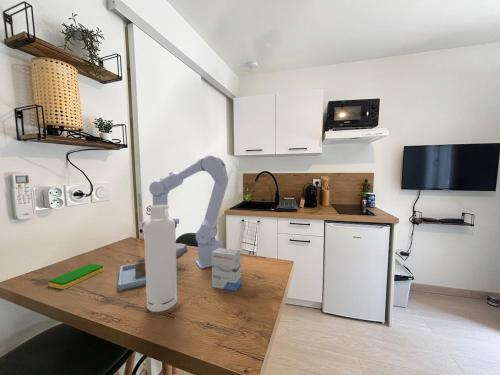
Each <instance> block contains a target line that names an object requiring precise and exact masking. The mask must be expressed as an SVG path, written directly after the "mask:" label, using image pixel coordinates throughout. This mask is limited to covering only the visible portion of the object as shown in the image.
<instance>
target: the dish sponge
mask: <svg viewBox="0 0 500 375" xmlns="http://www.w3.org/2000/svg"><path fill="white" fill-rule="evenodd" d="M104 271H105V269H104V265H102V264H96V263H89V264H86V265H84V266H81V267H79V268H76V269H74V270H72V271H69V272H66V273H65V274H64V273H63V274H62V275H59V276H57V277H53V278H51V279H49V280H48V286H49V287H50V288H56V289H60V290H65V289H68V288H69V287H71V286H74V285H76V284H78V283H80V282H83V281H84V280H87V279H89V278H92V277H94V276H96V275H98V274H101V273H103V272H104Z"/></svg>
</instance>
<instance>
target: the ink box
mask: <svg viewBox="0 0 500 375" xmlns="http://www.w3.org/2000/svg"><path fill="white" fill-rule="evenodd" d="M211 253H212V266H211V286H212V288H214V289H215V288H216V289H220V290H225V291H226V290H227V291H232V292H237V290H238V289H239V288H240V286H241V285H242V281H241V278H242V277H241V272H242V271H241V265H242V263H241V250H239V249H231V248H223V247H222V248H217V249H216V250H214V251H213V252H211Z"/></svg>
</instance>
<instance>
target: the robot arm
mask: <svg viewBox="0 0 500 375" xmlns="http://www.w3.org/2000/svg"><path fill="white" fill-rule="evenodd" d="M199 172H206V173H207V174H209V175H210V177H211V178H212V179H213V181H214V184H213V188H212V192H211V195H210V198H209V201H208V205H207V208H206V212H205V215H204V219H203V220H202V222H201V224H200V227H199V229H198V230H197V231H196V233H195V240H196V242H197V246H198V247H197V248H198V249H197V253H198V259H196V260H195V263H196V264H197V266H198V267H199V269H205V268H210V267H211V268H212V253H211V252H213V251H214V250H216V249H217V248H223V244H222V242H221V240H217V239H216V236H217V234H218V227H217V226H218V218H219V213H220V211H221V208H222V205H223V202H224V197H225V194H226V190H227V188H228V184H229V175H228V172H227V167H226V164H225V162H224V161H223V159H222V158H220V157H217V156H214V155H206V156H205V157H203V158H200V159H199V160H197V161H196V162H194V163H192V164H190V165H189V166H188V167H186V168H185V169H182V171H179V172H177V171H174V172H173V171H171V172H169V173H168V174H169V175H167V176H165V177H162V178H160V179H159V181H158V180H157V181H155V180H154V181H153V182H152V183H150V185H149V188H148V189H149V193H150V194H151V196H152V206H154V205H168V203H169V202H168V201H169V200H168V197H169V196H168V194H169V193H170V192H171V191H173V190H174V189H175V188H177V187H179V186H181V185H183V182H184V180H186V179H187V178H190V177H191V176H192V177H193V175H195V174H198V173H199ZM168 206H169V205H168ZM171 219H172V220H174V222H175V230H176V228H177V227H178V225H177V224H179V225H180V218H171ZM147 221H148V220H145V221H143V220H142V221H141V228H144V224H145V223H146V222H147Z"/></svg>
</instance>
